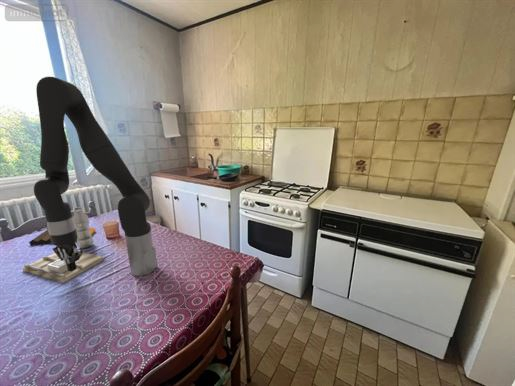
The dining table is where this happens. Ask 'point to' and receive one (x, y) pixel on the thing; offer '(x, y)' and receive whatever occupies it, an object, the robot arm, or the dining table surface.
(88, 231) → the plastic bottle
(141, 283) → the dining table surface
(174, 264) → the dining table surface
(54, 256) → the board
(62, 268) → the cream rectangular block
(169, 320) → the dining table surface
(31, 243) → the pan flute
